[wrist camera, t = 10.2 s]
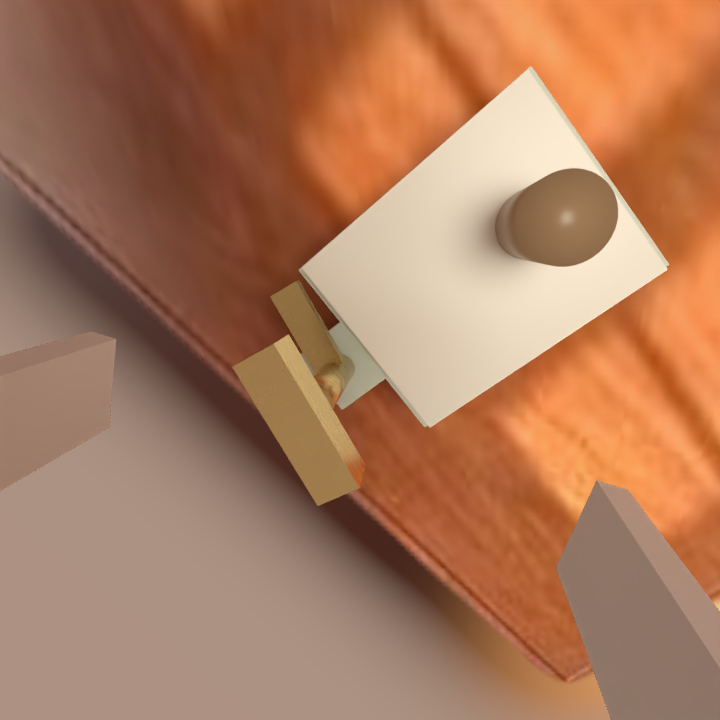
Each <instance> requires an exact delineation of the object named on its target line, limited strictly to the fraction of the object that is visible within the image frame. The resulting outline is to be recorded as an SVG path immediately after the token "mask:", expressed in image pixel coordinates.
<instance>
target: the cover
mask: <svg viewBox="0 0 720 720" xmlns="http://www.w3.org/2000/svg"><path fill="white" fill-rule="evenodd" d="M302 269H303V270H304V272H305V273H306V274H307V275H308V276H309V278H310V279H311V280H312V281H313V283H314V284H315V285H316V286H317V288H318V289H319V290H320V291H321V293H322V294H323V295H324V296H325V298H326V299H327V300H328V301H329V303H330V304H331V305H332V306H333V308H334V309H335V310H336V311H337V313H338V314H339V315H340V316H341V318H342V319H343V320H344V321H345V323H346V324H347V325H348V326H349V328H350V329H351V330H352V331H353V333H354V334H355V335H356V336H357V338H358V339H359V340H360V341H361V343H362V344H363V345H364V346H365V347H366V349H367V350H368V351H369V352H370V354H371V355H372V356H373V357H374V359H375V360H376V361H377V362H378V364H379V365H380V366H381V367H382V369H383V370H384V371H385V372H386V374H387V375H388V376H389V377H390V379H391V380H392V381H393V382H394V384H395V385H396V386H397V387H398V389H399V390H400V391H401V392H402V394H403V395H404V396H405V397H406V399H407V400H408V401H409V402H410V404H411V405H412V406H413V407H414V409H415V410H416V411H417V412H418V414H419V415H420V416H421V417H422V418H423V420H424V421H425V422H426V423H427V425H428V426H429V427H432V426H433V425H435V424H436V423H438V422H439V421H441V420H442V419H444V418H445V417H447V416H448V415H450V414H451V413H453V412H454V411H456V410H457V409H459V408H460V407H462V406H463V405H465V404H466V403H468V402H469V401H471V400H472V399H474V398H475V397H477V396H478V395H480V394H481V393H483V392H484V391H486V390H487V389H489V388H490V387H492V386H493V385H495V384H496V383H498V382H499V381H501V380H502V379H504V378H505V377H507V376H508V375H510V374H511V373H513V372H514V371H516V370H517V369H519V368H520V367H522V366H523V365H525V364H526V363H528V362H529V361H531V360H532V359H534V358H535V357H537V356H538V355H540V354H541V353H543V352H544V351H546V350H547V349H549V348H550V347H552V346H553V345H555V344H556V343H558V342H560V341H561V340H563V339H564V338H566V337H567V336H569V335H570V334H572V333H573V332H575V331H576V330H578V329H579V328H581V327H582V326H584V325H585V324H587V323H588V322H590V321H591V320H593V319H594V318H596V317H597V316H599V315H600V314H602V313H603V312H605V311H606V310H608V309H609V308H611V307H612V306H614V305H615V304H617V303H618V302H620V301H621V300H623V299H624V298H626V297H627V296H629V295H630V294H632V293H633V292H635V291H636V290H638V289H639V288H641V287H642V286H644V285H645V284H647V283H648V282H650V281H651V280H653V279H654V278H656V277H657V276H659V275H660V274H662V273H663V272H665V271H666V270H668V269H667V268H666V266H665V265H664V263H663V262H662V260H661V259H660V258H659V256H658V255H657V253H656V252H655V250H654V249H653V247H652V246H651V245H650V243H649V242H648V240H647V239H646V237H645V236H644V235H643V233H642V232H641V230H640V229H639V227H638V226H637V225H636V223H635V222H634V220H633V219H632V217H631V216H630V214H629V213H628V212H627V210H626V209H625V207H624V206H623V204H622V203H621V202H620V200H619V199H618V197H617V196H616V194H615V193H614V191H613V190H612V188H611V186H610V185H609V184H608V183H607V181H606V180H605V179H604V177H603V176H602V174H601V173H600V171H599V170H598V169H597V167H596V166H595V164H594V163H593V161H592V160H591V158H590V157H589V156H588V154H587V153H586V151H585V150H584V148H583V147H582V146H581V144H580V143H579V141H578V140H577V138H576V137H575V135H574V134H573V133H572V131H571V130H570V128H569V127H568V125H567V124H566V123H565V121H564V120H563V118H562V117H561V115H560V114H559V113H558V111H557V110H556V108H555V107H554V105H553V104H552V102H551V101H550V100H549V98H548V97H547V95H546V94H545V92H544V91H543V90H542V88H541V87H540V85H539V84H538V82H537V81H536V79H535V78H534V77H533V75H532V74H531V72H530V71H529V69H528V70H527V71H526V72H524V73H523V74H522V75H521V76H520V77H519V78H518V79H516V80H515V81H514V82H513V83H512V84H511V85H510V86H508V87H507V88H506V89H505V90H504V91H503V92H502V93H500V94H499V95H498V96H497V97H496V98H495V99H494V100H492V101H491V102H490V103H489V104H488V105H487V106H486V107H484V108H483V109H482V110H481V111H480V112H479V113H478V114H476V115H475V116H474V117H473V118H472V119H471V120H470V121H468V122H467V123H466V124H465V125H464V126H463V127H462V128H460V129H459V130H458V131H457V132H456V133H455V134H454V135H452V136H451V137H450V138H449V139H448V140H447V141H446V142H444V143H443V144H442V145H441V146H440V147H439V148H438V149H437V150H435V151H434V152H433V153H432V154H431V155H430V156H429V157H427V158H426V159H425V160H424V161H423V162H422V163H421V164H419V165H418V166H417V167H416V168H415V169H414V170H413V171H411V172H410V173H409V174H408V175H407V176H406V177H405V178H403V179H402V180H401V181H400V182H399V183H398V184H397V185H395V186H394V187H393V188H392V189H391V190H390V191H389V192H387V193H386V194H385V195H384V196H383V197H382V198H381V199H379V200H378V201H377V202H376V203H375V204H374V205H373V206H371V207H370V208H369V209H368V210H367V211H366V212H365V213H363V214H362V215H361V216H360V217H359V218H358V219H357V220H355V221H354V222H353V223H352V224H351V225H350V226H349V227H348V228H346V229H345V230H344V231H343V232H342V233H341V234H340V235H338V236H337V237H336V238H335V239H334V240H333V241H332V242H330V243H329V244H328V245H327V246H326V247H325V248H324V249H322V250H321V251H320V252H319V253H318V254H317V255H316V256H314V257H313V258H312V259H311V260H310V261H309V262H308V263H306V264H305V265H304V266H303V267H302Z"/></svg>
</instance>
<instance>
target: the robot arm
mask: <svg viewBox="0 0 720 720" xmlns="http://www.w3.org/2000/svg"><path fill="white" fill-rule="evenodd" d="M115 347H116V339H115V338H112V337H108V336H105V335H102V334H98V333H95V332H87V333H83V334H80V335H76V336H73V337H69V338H65V339H62V340H58V341H54V342H51V343H47V344H44V345H40V346H36V347H33V348H29V349H26V350H22V351H18V352H15V353H11V354H8V355H4V356H0V491H1V490H3V489H5V488H7V487H8V486H10V485H12V484H13V483H15V482H17V481H18V480H20V479H22V478H24V477H25V476H27V475H29V474H30V473H32V472H33V471H36V470H37V469H39V468H41V467H42V466H44V465H46V464H47V463H49V462H51V461H53V460H54V459H56V458H58V457H59V456H61V455H63V454H64V453H66V452H68V451H70V450H71V449H73V448H75V447H76V446H78V445H80V444H82V443H83V442H85V441H87V440H88V439H90V438H92V437H93V436H95V435H97V434H99V433H100V432H102V431H104V430H105V429H107V428H109V425H110V412H111V399H112V386H113V374H114V361H115ZM556 569H557V572H558V575H559V577H560V580H561V583H562V586H563V588H564V591H565V594H566V597H567V599H568V602H569V605H570V608H571V610H572V613H573V616H574V619H575V622H576V624H577V627H578V630H579V633H580V635H581V638H582V641H583V644H584V646H585V649H586V652H587V655H588V657H589V660H590V663H591V666H592V668H593V671H594V674H595V677H596V680H597V682H598V685H599V688H600V691H601V693H602V696H603V699H604V702H605V704H606V707H607V710H608V713H609V715H610V718H611V720H720V611H719V610H718V608H717V607H716V606H715V604H714V603H713V602H712V600H711V599H710V598H709V596H708V595H707V594H706V593H705V591H704V590H703V589H702V587H701V586H700V585H699V583H698V582H697V581H696V579H695V578H694V577H693V575H692V574H691V573H690V571H689V570H688V569H687V567H686V566H685V565H684V563H683V562H682V561H681V559H680V558H679V557H678V555H677V554H676V553H675V551H674V550H673V549H672V548H671V546H670V545H669V544H668V542H667V541H666V540H665V538H664V537H663V536H662V534H661V533H660V532H659V530H658V529H657V528H656V526H655V525H654V524H653V522H652V521H651V520H650V518H649V517H648V516H647V514H646V513H645V512H644V510H643V509H642V508H641V506H640V505H639V504H638V503H637V501H636V500H635V499H634V497H633V496H632V495H631V493H630V492H629V491H628V490H627V489H624V488H620V487H617V486H614V485H610V484H607V483H603V482H600V481H596V483H595V485H594V487H593V489H592V492H591V494H590V496H589V498H588V500H587V502H586V504H585V507H584V509H583V511H582V513H581V515H580V517H579V519H578V522H577V524H576V526H575V528H574V530H573V532H572V535H571V537H570V539H569V541H568V543H567V545H566V547H565V550H564V552H563V554H562V556H561V558H560V560H559V562H558V565H557V567H556Z"/></svg>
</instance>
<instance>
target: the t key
mask: <svg viewBox="0 0 720 720" xmlns="http://www.w3.org/2000/svg"><path fill="white" fill-rule="evenodd" d="M270 298H271V299H272V301H273V303H274V304H275V306H276V308H277V309H278V311H279V313H280V315H281V316H282V318H283V320H284V321H285V323H286V325H287V327H288V328H289V330H290V332H291V333H292V335H293V337H294V339H295V340H296V342H297V344H298V345H299V347H300V349H301V350H302V352H303V354H304V356H305V357H306V359H307V361H308V362H309V364H310V366H311V368H312V369H313V371H314V373H315V374H316V375H315V376H314V377H313V375H312V373H311V371H310V370H309V368H308V366H307V365H306V363H305V361H304V360H303V358H302V356H301V354H300V353H299V351H298V349H297V348H296V346H295V344H294V343H293V341H292V339H291V337H290V336H289V334H288V335H286V336H285V337H283V338H281V339H279V340H277V341H276V342H274V343H272V344H270V345H268V346H267V347H265V348H263V349H261V350H259V351H258V352H256V353H254V354H252V355H250V356H249V357H247V358H246V359H244V360H242V361H241V362H239V363H238V364H236V365H234V366H233V367H232V368H233V369H234V371H235V373H236V374H237V376H238V377H239V379H240V381H241V382H242V384H243V386H244V387H245V389H246V390H247V392H248V394H249V395H250V397H251V398H252V400H253V402H254V403H255V405H256V407H257V408H258V410H259V411H260V413H261V415H262V416H263V418H264V420H265V421H266V423H267V424H268V426H269V428H270V429H271V431H272V432H273V434H274V436H275V437H276V439H277V441H278V442H279V444H280V446H281V447H282V449H283V450H284V452H285V454H286V455H287V457H288V458H289V460H290V461H291V463H292V465H293V466H294V468H295V470H296V471H297V473H298V475H299V476H300V478H301V480H302V481H303V483H304V484H305V486H306V488H307V489H308V491H309V493H310V494H311V496H312V497H313V499H314V501H315V502H316V504H317V505H321V504H323V503H326V502H328V501H330V500H332V499H335V498H337V497H340V496H342V495H344V494H347V493H349V492H351V491H354V490H356V489H359V488H360V484H361V481H362V478H363V474H364V471H365V468H366V465H365V463H364V462H363V460H362V458H361V457H360V455H359V453H358V452H357V450H356V448H355V446H354V445H353V443H352V441H351V440H350V438H349V436H348V435H347V433H346V431H345V429H344V428H343V426H342V424H341V423H340V421H339V419H338V417H337V416H336V414H335V412H334V411H333V408H334V406H335V405H336V403H337V401H338V400H339V398H340V396H341V395H342V393H343V391H344V390H345V388H346V386H347V385H348V383H349V381H350V380H351V378H352V376H353V374H354V371H355V366H354V363H353V361H352V360H351V359H350V358H349V357H348V356H346V355H343V354H341V352H340V350H339V349H338V347H337V345H336V343H335V342H334V340H333V338H332V336H331V335H330V333H329V331H328V329H327V328H326V326H325V324H324V322H323V320H322V319H321V317H320V315H319V313H318V312H317V310H316V308H315V306H314V305H313V303H312V301H311V299H310V298H309V296H308V294H307V292H306V291H305V289H304V287H303V285H302V284H301V282H300V280H299V281H296V282H294V283H292V284H291V285H289V286H287V287H285V288H284V289H282V290H280V291H279V292H277V293H275V294H274V295H272V296H270Z"/></svg>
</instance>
